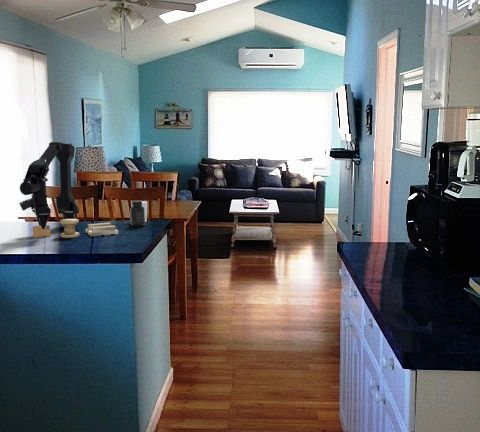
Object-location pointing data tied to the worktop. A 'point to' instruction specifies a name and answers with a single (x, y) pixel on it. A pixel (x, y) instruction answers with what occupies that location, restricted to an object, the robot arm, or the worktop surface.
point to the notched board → (101, 229)
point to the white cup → (144, 204)
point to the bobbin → (69, 228)
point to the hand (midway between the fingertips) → (41, 227)
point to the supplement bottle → (137, 214)
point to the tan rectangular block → (41, 231)
